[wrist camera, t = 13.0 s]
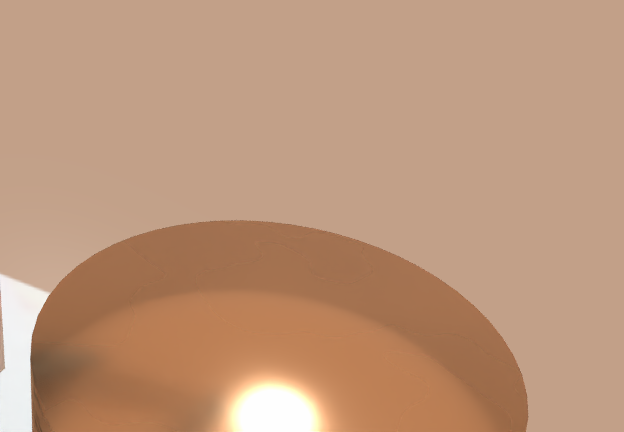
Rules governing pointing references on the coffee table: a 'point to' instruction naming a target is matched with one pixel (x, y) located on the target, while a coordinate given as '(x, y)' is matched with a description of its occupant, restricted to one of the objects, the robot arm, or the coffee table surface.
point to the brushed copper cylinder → (265, 340)
